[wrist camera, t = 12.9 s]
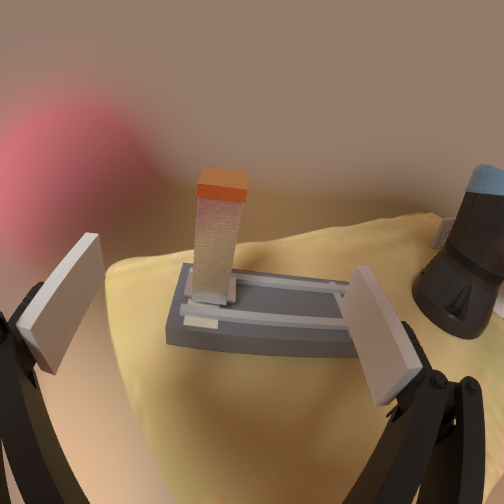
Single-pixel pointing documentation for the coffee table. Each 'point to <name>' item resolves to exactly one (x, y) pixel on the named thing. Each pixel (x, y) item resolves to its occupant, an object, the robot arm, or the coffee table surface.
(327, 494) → the coffee table surface
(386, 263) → the coffee table surface
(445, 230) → the cassette
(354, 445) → the coffee table surface
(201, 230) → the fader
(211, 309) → the console
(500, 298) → the mug
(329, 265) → the coffee table surface
